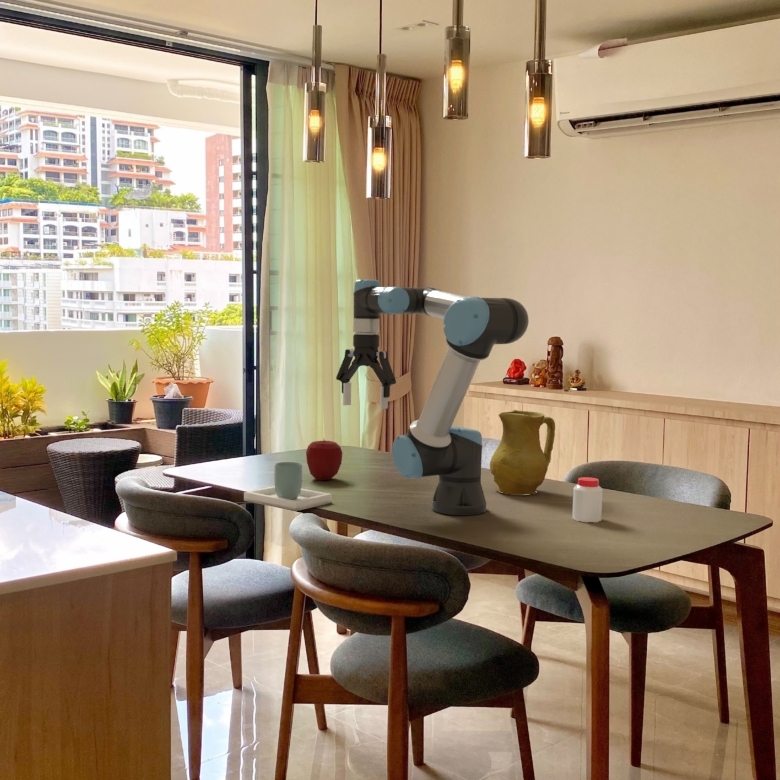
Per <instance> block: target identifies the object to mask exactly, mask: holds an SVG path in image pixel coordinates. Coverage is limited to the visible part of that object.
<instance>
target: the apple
mask: <svg viewBox="0 0 780 780" xmlns="http://www.w3.org/2000/svg"><path fill="white" fill-rule="evenodd" d="M305 453H306V456H305V457H306V464H307V467H308V470H309V473H310V475H311V476H312V477H313V478H314V479H315V480H316V481H329V480H332V479H333V478H334V477H335V476H336V475H337V474H338V472H339V470H340V467H341V465H342V461H343V451H342V447H341V445H340V444H338V442H336V441H332V440H331V441H330V440H325V439H323V440H317V441H316V440H315V441H312V442H310V443H309V445H308V446H307V448H306V451H305Z"/></svg>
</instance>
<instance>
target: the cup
mask: <svg viewBox="0 0 780 780" xmlns="http://www.w3.org/2000/svg"><path fill="white" fill-rule="evenodd" d="M273 471H274V474H273V475H274V479H273V481H274V486H275V492H276V495H277V497H280V498H285V499H290V500H294V499H296V498H298V497H299V495H300V493H301V489H302V485H303V464H302V463H301V462H297V461H296V462H295V461H294V462H293V461H282V462H281V461H280V462H276V463H275V464H274V470H273Z"/></svg>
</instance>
